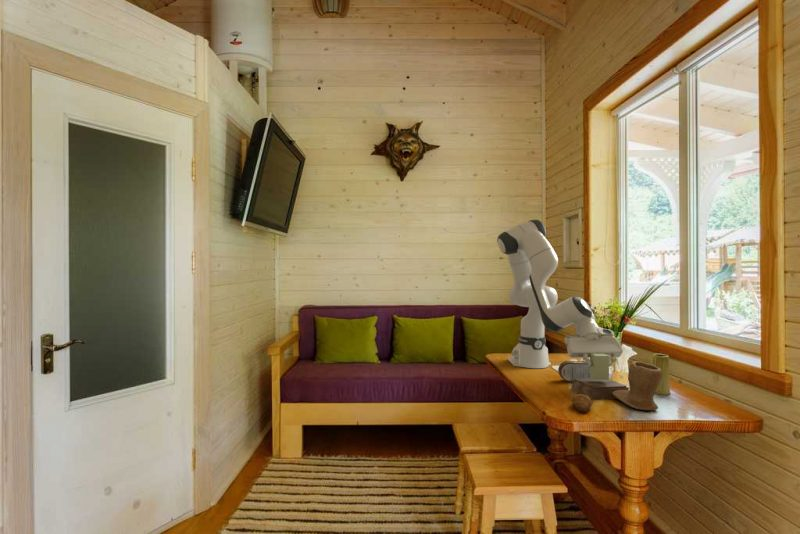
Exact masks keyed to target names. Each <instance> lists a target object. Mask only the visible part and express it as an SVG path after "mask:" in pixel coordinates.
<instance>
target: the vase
mask: <svg viewBox="0 0 800 534" xmlns="http://www.w3.org/2000/svg"><path fill="white" fill-rule="evenodd" d="M652 365H653V366H656V367H658V368H660V369H661V371H662V378H661V381H660V383H659V385H658V387H657V389H656V391H655V393H654V394H657V395H662V396H663V395H664V396H667V395H671V389H670V388H671V385H670V356H669V355H668V354H665V353H664V354H663V353H654V354H652Z"/></svg>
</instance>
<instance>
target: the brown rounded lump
mask: <svg viewBox="0 0 800 534" xmlns="http://www.w3.org/2000/svg"><path fill="white" fill-rule="evenodd" d="M570 401H571V403H572V404H573V405H574V407H575V409H576V410H577V411H578V412H580V413H582V414H584V413H588V412H589V410H590V408H591V406H592V405H593V401H592V400H591V398H590V397H588V396H586V395H584V394H582V393H578V394H574V395H573V397H572V398H571V400H570Z"/></svg>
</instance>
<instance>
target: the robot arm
mask: <svg viewBox="0 0 800 534" xmlns="http://www.w3.org/2000/svg"><path fill="white" fill-rule="evenodd" d="M544 225H545V224H543V222H542V221H540V220H539V219H532V220H528V221H526V222H523V223H520V224H516V226H514V227H512V228H510V229H508V230H506V231H503V232H502V233H500V234H499V235H498V236H497V239H496V243H497V246H498V248H499V250H500V252H501V253H502V254H505V255H507V260H508V263H509V266H510V268H511V272H512V278H513V283H512V287H511V288H510V290H509V293H508V298H509V300H510V302H511V303H512V304H514V305H516V306H519V307H525V308H528V311H527V313H526V315H525V316H522V318H521V319H520V335H519V337H518V343H517V344H516V346H514V347H513V349H512V350H511V357H508V358H507V361H509V363H510V364H512V366H514V367H519V368H520V367H521V368H526V369H545V368H549V366H551V365H552V363H551V362H550V360H549V349H548V347H547V346H546V342H547V341H546V340H547V339H546V336H545V332H546V331H545V330H548V331H550V332H553V333H559V332H561V331H562V330H564V329H565V328H567V327H569V326H571V325H573V326H574V327H575V335H572V334H571V335H566V336H565V337H564V344H565V345H566V349H567V355H568V357H570V358H582V360H583V361H586V362H587V363H588V366H593V365H594V363H593V360H590V354H591V353H604V354H606V355H608V356H609V368H610V367H611V365H612V363H611V358H620V357H621V356H622V354H623V352H624V351H623V347H622V345H621V343H620V341H619V339H618V338H617V337H615V332H614V331H613V330H611V329H607V328H603V327H600V326H599V325H598V323H597V322H596V317H595V315H594V311H593V310H592V308H591V306H590V304H589V302H587V300H585V298H583V297H579V296H576V295H574V296H571V297H569V298H567V299H564V300H563V301H561V302H560V303H558V299H559V298H558V297H559V296H558V293H557V290H556V289H555V288H554V287H551V286H548V285H546V283H547V281H548V280H549V279H550V277H551V276H552V275H553V274H554V272H555V271H556V270H557V268H558V265H559V258H558V254H557V253H556V252H555V250H554V248H553V247H552V245H551V243H550V241H549V240H548V239H547V237H546V234H547V230H546V227H545V226H544Z"/></svg>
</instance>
